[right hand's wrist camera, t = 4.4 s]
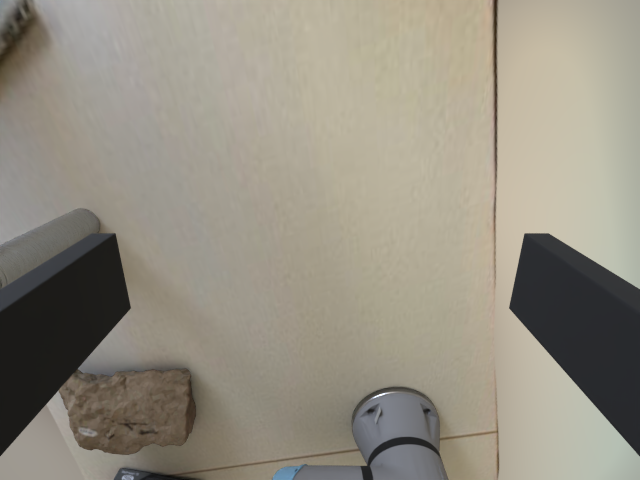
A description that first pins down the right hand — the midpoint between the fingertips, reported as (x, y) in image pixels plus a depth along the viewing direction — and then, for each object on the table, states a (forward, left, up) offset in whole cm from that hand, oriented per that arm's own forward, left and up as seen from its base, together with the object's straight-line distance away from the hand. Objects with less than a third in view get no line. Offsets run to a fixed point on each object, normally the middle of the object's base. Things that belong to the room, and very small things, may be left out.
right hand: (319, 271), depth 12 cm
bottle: (-12, +34, -41) cm, 54 cm away
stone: (-43, +32, -41) cm, 67 cm away
